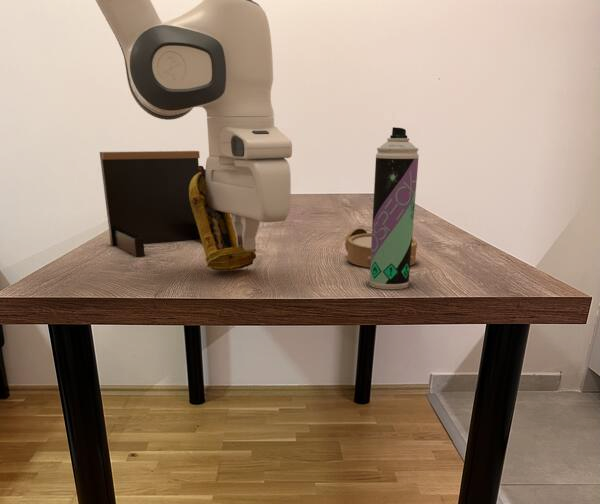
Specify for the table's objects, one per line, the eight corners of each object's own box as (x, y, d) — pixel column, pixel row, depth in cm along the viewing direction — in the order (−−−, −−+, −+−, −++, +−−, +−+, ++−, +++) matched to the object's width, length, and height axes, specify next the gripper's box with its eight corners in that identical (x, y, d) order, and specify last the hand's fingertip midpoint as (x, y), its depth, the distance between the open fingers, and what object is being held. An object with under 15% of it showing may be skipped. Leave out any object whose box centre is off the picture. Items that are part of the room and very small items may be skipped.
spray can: (362, 282, 91) (369, 127, 82) (395, 279, 93) (405, 127, 84) (382, 290, 86) (392, 127, 78) (416, 287, 88) (429, 127, 80)
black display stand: (133, 257, 108) (122, 154, 101) (110, 244, 119) (99, 151, 113) (230, 248, 116) (226, 153, 109) (200, 238, 128) (194, 150, 121)
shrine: (182, 271, 99) (171, 166, 93) (225, 264, 103) (218, 164, 97) (225, 279, 91) (216, 165, 85) (269, 272, 95) (264, 163, 89)
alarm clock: (356, 250, 98) (338, 220, 110) (354, 281, 100) (336, 248, 112) (427, 249, 99) (401, 219, 111) (422, 279, 102) (398, 247, 114)
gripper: (191, 141, 91) (198, 240, 97) (252, 143, 75) (257, 262, 81) (231, 140, 94) (236, 237, 100) (299, 142, 78) (299, 257, 84)
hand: (246, 248), depth 91 cm, fingers closed
